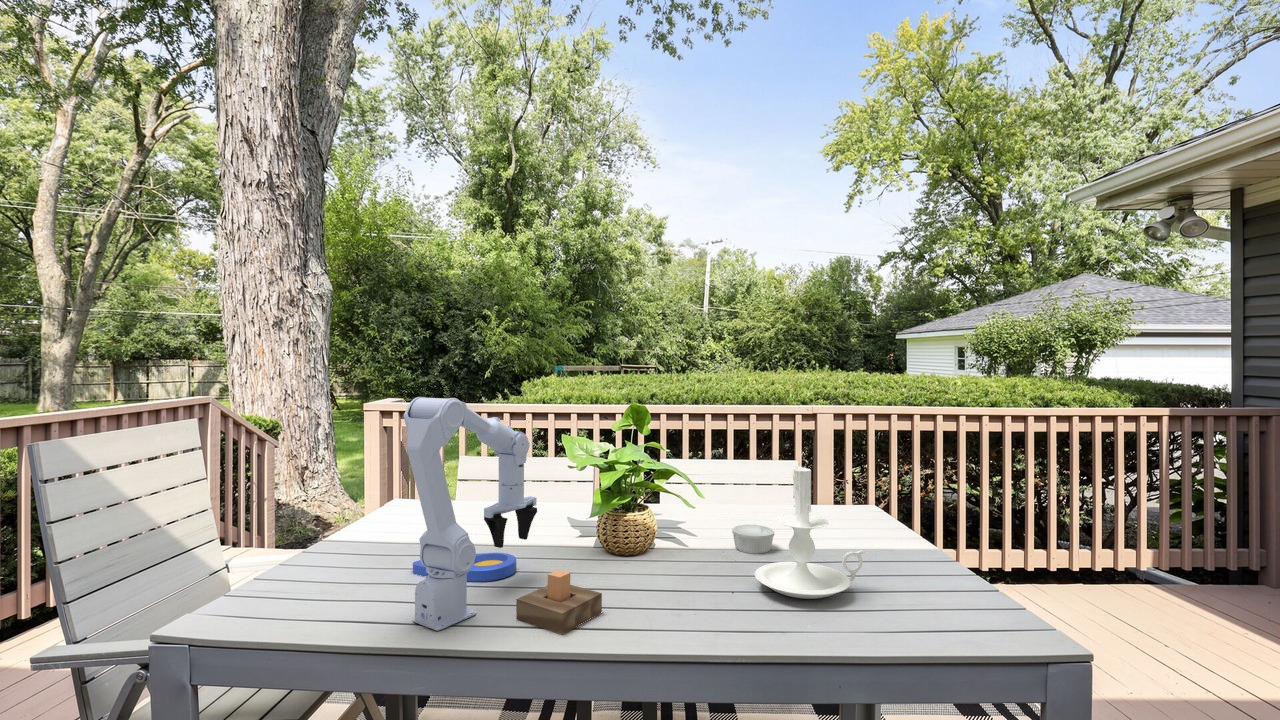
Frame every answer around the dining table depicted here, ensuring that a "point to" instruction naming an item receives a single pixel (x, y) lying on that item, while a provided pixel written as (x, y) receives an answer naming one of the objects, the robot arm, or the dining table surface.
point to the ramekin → (753, 538)
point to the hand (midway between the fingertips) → (511, 542)
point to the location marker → (482, 567)
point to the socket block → (558, 609)
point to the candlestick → (805, 553)
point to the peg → (559, 586)
